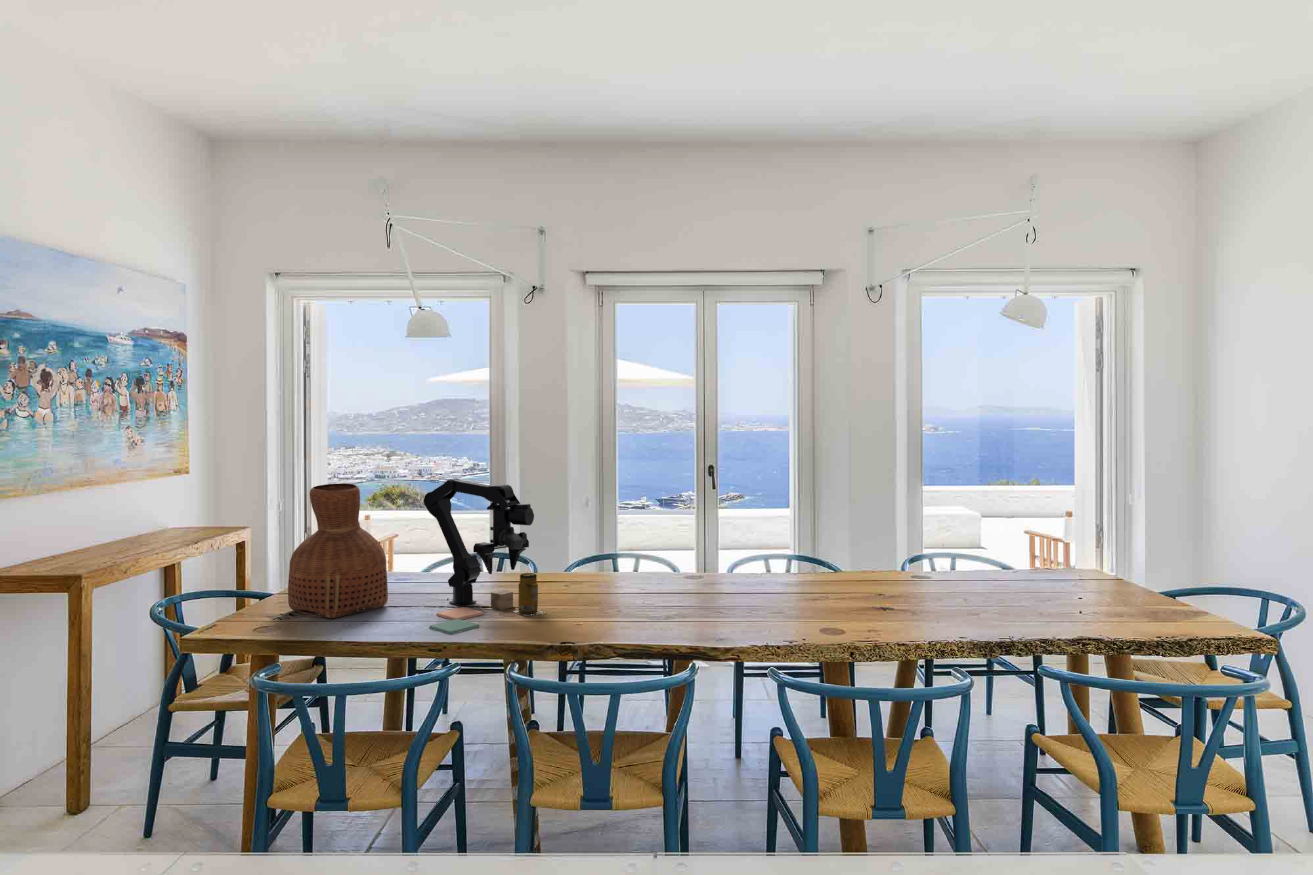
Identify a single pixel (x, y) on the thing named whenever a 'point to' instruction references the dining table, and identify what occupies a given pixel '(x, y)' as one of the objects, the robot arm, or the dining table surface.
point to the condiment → (528, 595)
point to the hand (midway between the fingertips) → (501, 571)
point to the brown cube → (501, 599)
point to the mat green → (454, 626)
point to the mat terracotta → (459, 613)
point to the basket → (337, 559)
